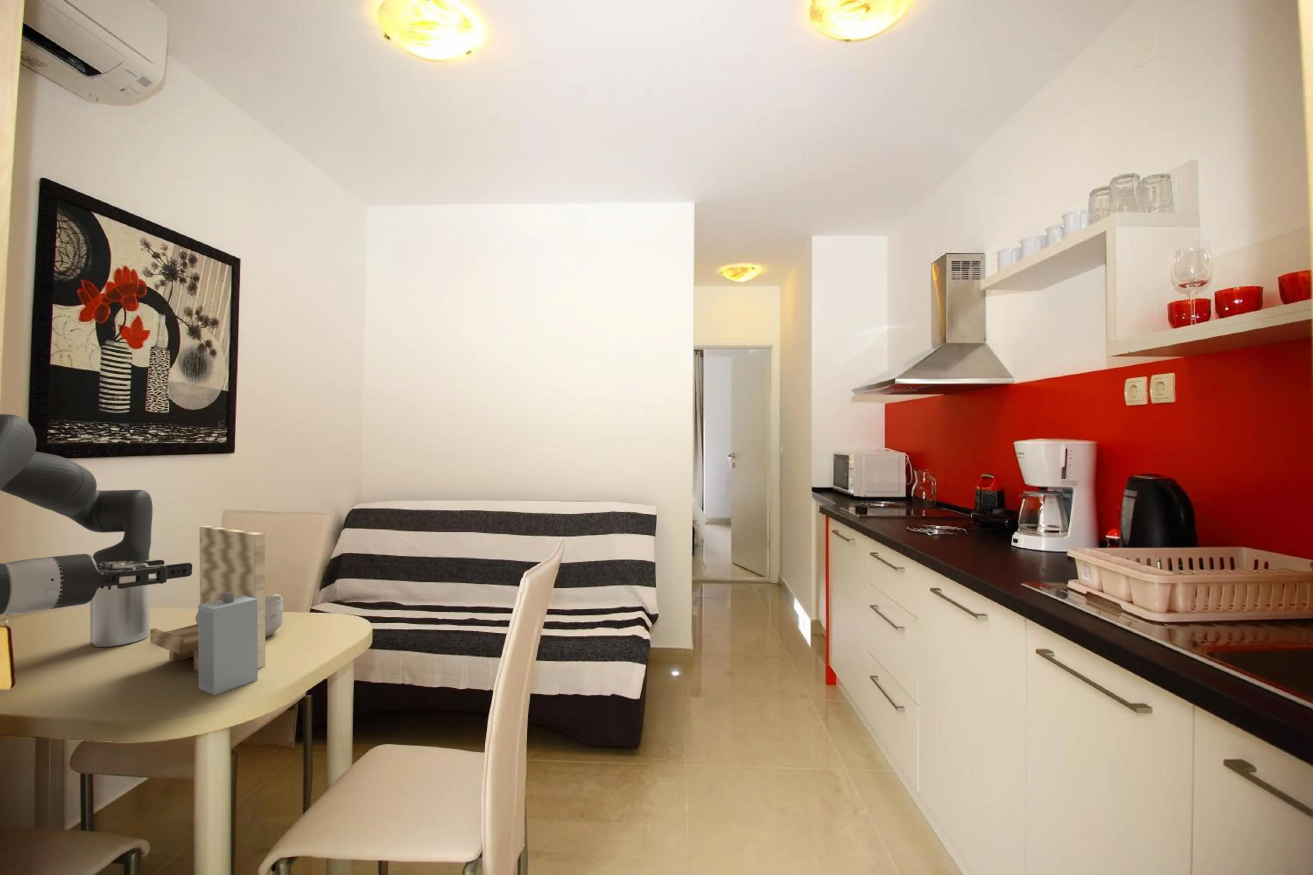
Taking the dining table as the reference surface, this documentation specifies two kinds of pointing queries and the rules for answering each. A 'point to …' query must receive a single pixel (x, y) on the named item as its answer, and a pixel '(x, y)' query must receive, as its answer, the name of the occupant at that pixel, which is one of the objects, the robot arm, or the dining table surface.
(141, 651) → the dining table surface
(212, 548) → the wooden display stand
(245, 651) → the bottle
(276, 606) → the teacup
